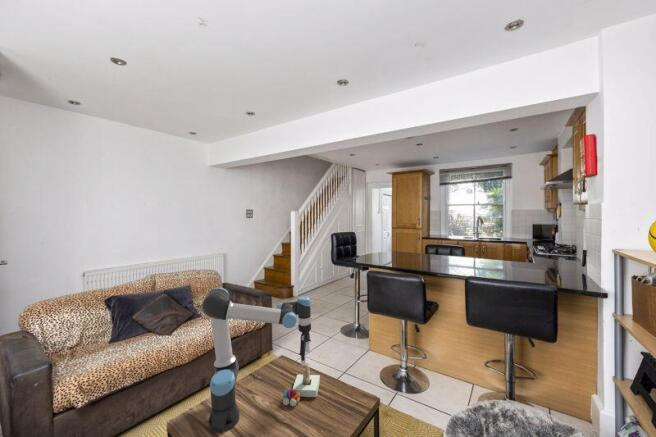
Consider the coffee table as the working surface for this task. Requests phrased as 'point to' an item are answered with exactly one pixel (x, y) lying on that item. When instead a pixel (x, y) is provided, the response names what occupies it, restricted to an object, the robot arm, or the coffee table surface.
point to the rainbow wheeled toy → (291, 397)
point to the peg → (306, 374)
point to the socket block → (307, 386)
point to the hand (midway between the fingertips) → (305, 358)
